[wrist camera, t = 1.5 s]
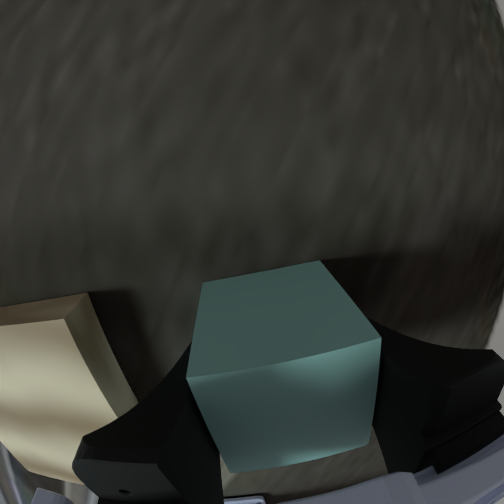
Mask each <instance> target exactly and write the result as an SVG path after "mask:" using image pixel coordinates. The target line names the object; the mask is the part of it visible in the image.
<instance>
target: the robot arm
mask: <svg viewBox="0 0 504 504" xmlns="http://www.w3.org/2000/svg"><path fill="white" fill-rule="evenodd" d="M365 317H366V316H365ZM366 318H367V319H368V321H369V322H370V323H371V325H372V326H373V327H374V328H375V330H376V331H377V332H378V334H379V335H380V336H381V352H380V364H379V374H378V383H377V392H376V400H375V407H374V414H373V421H372V426H373V428H374V431H375V434H376V436H377V439H378V442H379V445H380V448H381V451H382V454H383V457H384V460H385V463H386V467H387V470H388V474H387V475H383V476H380V477H377V478H374V479H371V480H368V481H365V482H362V483H359V484H356V485H353V486H349V487H346V488H342V489H339V490H335V491H331V492H328V493H324V494H319V495H315V496H311V497H306V498H301V499H296V500H291V501H285V502H281V503H277V504H495V503H496V502H497V501H499V500H500V499H501V498H503V497H504V416H503V415H502V414H501V412H500V411H499V410H501V408H502V406H501V404H500V403H499V402H498V401H497V399H498V397H499V395H500V392H501V390H502V388H503V386H504V360H503V359H502V358H501V357H500V356H499V355H498V354H496V352H494V351H493V350H492V349H461V348H452V347H445V346H440V345H436V344H431V343H427V342H423V341H420V340H417V339H414V338H411V337H408V336H405V335H403V334H400V333H398V332H396V331H393V330H391V329H389V328H387V327H385V326H383V325H381V324H379V323H377V322H375V321H373V320H371V319H369V318H368V317H366ZM191 345H192V342H191V343H190V344H189V346H188V347H187V349H186V350H185V352H184V353H183V355H182V356H181V357H180V359H179V360H178V362H177V363H176V364H175V366H174V367H173V368H172V370H171V371H170V372H169V373H168V374H167V376H166V377H165V378H164V379H163V380H162V382H161V383H160V384H159V385H158V386H157V387H156V388H155V389H154V390H153V391H152V392H151V393H150V394H149V395H148V396H146V397H145V398H144V399H143V400H142V401H140V402H139V403H138V404H137V405H135V406H134V407H133V408H132V409H130V410H129V411H128V412H126V413H125V414H123V415H122V416H120V417H119V418H117V419H116V420H114V421H112V422H111V423H109V424H107V425H105V426H103V427H101V428H99V429H97V430H95V431H93V432H91V433H89V434H86V435H84V436H83V437H82V439H81V442H80V444H79V447H78V449H77V452H76V455H75V457H74V460H73V462H72V469H73V471H74V473H75V475H76V476H77V477H78V478H79V480H80V481H81V482H83V483H84V484H85V485H86V486H87V487H88V488H89V489H90V490H91V491H92V492H94V493H95V494H96V495H97V496H98V497H99V500H98V504H266V502H265V500H264V497H262V496H250V497H241V498H229V499H224V497H223V489H222V479H221V468H220V454H219V450H218V448H217V446H216V444H215V442H214V440H213V438H212V436H211V434H210V431H209V429H208V427H207V425H206V423H205V421H204V418H203V416H202V414H201V412H200V409H199V407H198V405H197V403H196V400H195V398H194V396H193V393H192V391H191V389H190V386H189V384H188V381H187V379H186V375H187V369H188V363H189V357H190V351H191ZM31 504H74V503H73V502H72V501H71V500H69V499H68V498H66V497H65V496H63V495H61V494H58V493H55V492H51V491H48V490H45V489H41V488H37V490H36V492H35V495H34V498H33V500H32V503H31Z"/></svg>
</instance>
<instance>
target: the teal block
mask: <svg viewBox="0 0 504 504" xmlns="http://www.w3.org/2000/svg"><path fill="white" fill-rule="evenodd" d="M380 352H381V336H380V335H379V334H378V332H377V331H376V330H375V328H374V327H373V326H372V325H371V323H370V322H369V321H368V319H367V318H366V317H365V316H364V314H363V313H362V312H361V311H360V309H359V308H358V307H357V306H356V304H355V303H354V302H353V301H352V299H351V298H350V297H349V296H348V294H347V293H346V292H345V291H344V289H343V288H342V287H341V286H340V284H339V283H338V282H337V281H336V280H335V278H334V277H333V276H332V275H331V273H330V272H329V271H328V270H327V269H326V267H325V266H324V265H323V264H322V263H321V261H320V260H319V261H314V262H309V263H304V264H299V265H294V266H288V267H283V268H278V269H273V270H268V271H263V272H258V273H252V274H247V275H242V276H236V277H231V278H226V279H220V280H215V281H209V282H204V283H203V285H202V290H201V295H200V301H199V306H198V311H197V317H196V322H195V328H194V333H193V339H192V345H191V351H190V357H189V363H188V369H187V375H186V379H187V381H188V384H189V386H190V389H191V391H192V393H193V396H194V398H195V400H196V403H197V405H198V407H199V409H200V412H201V414H202V416H203V418H204V421H205V423H206V425H207V427H208V429H209V431H210V434H211V436H212V438H213V440H214V442H215V444H216V446H217V448H218V450H219V452H220V454H221V456H222V458H223V460H224V462H225V464H226V466H227V468H228V470H229V472H230V473H238V472H247V471H254V470H261V469H268V468H274V467H280V466H285V465H291V464H296V463H300V462H305V461H310V460H314V459H318V458H322V457H326V456H330V455H334V454H337V453H341V452H344V451H348V450H351V449H354V448H358V447H361V446H364V445H367V444H369V439H370V433H371V427H372V421H373V414H374V407H375V400H376V392H377V383H378V374H379V364H380Z"/></svg>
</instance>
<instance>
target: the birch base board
mask: <svg viewBox="0 0 504 504" xmlns="http://www.w3.org/2000/svg"><path fill="white" fill-rule="evenodd" d="M138 403H139V402H138V400H137V399H136V397H135V395H134V393H133V391H132V390H131V388H130V386H129V384H128V382H127V380H126V378H125V376H124V374H123V372H122V370H121V368H120V366H119V364H118V362H117V360H116V358H115V356H114V354H113V352H112V350H111V348H110V345H109V343H108V341H107V339H106V337H105V334H104V332H103V330H102V327H101V325H100V323H99V320H98V318H97V315H96V313H95V310H94V308H93V305H92V303H91V300H90V298H89V295H88V293H82V294H76V295H70V296H65V297H59V298H53V299H47V300H41V301H35V302H29V303H23V304H17V305H11V306H5V307H0V441H1V442H2V443H3V445H4V446H5V447H6V448H7V449H8V450H9V451H10V452H11V453H12V455H13V456H14V457H15V458H16V459H17V460H18V461H19V462H20V463H21V464H22V465H23V466H24V467H25V468H26V469H27V470H28V471H30V472H34V473H37V474H41V475H44V476H48V477H52V478H56V479H60V480H64V481H69V482H73V483H78V484H84V483H83V482H81V481H80V480H79V478H78V477H77V476H76V475H75V473H74V471H73V469H72V462H73V460H74V457H75V455H76V452H77V449H78V447H79V444H80V442H81V439H82V437H83V436H84V435H86V434H89V433H91V432H93V431H95V430H97V429H99V428H101V427H103V426H105V425H107V424H109V423H111V422H112V421H114V420H116V419H117V418H119V417H120V416H122V415H123V414H125V413H126V412H128V411H129V410H130V409H132V408H133V407H134V406H135V405H137V404H138ZM84 485H85V484H84Z"/></svg>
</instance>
